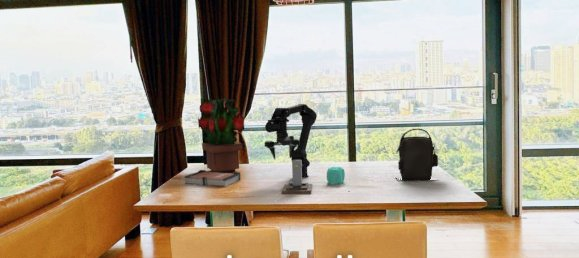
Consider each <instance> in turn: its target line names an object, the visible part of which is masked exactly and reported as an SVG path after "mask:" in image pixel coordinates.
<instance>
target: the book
mask: <svg viewBox="0 0 579 258" xmlns="http://www.w3.org/2000/svg"><path fill="white" fill-rule="evenodd" d="M184 178H185V183H184V185H194V184H196V185H197V186H210V187H211V186H212V187H221V188H222V187H225V188H227V187H228V186H231V185H233V184H235V183H238V182H239V181H241V180H242V179H241V172H240V171H235V172H228V173H217V172H213V171H207V170H206V169H200V170H198V171H196V172H194V173H191V174H188V175H186V176H184Z"/></svg>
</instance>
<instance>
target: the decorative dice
mask: <svg viewBox="0 0 579 258" xmlns="http://www.w3.org/2000/svg"><path fill="white" fill-rule="evenodd" d="M345 176H346V173H345V169H344V168H343V167H341V166H331V167H328V168H327V170H326V180H327V182H328V184H331V185H342V184H343V183H344V181H345V178H346V177H345Z"/></svg>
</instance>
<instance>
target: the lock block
mask: <svg viewBox="0 0 579 258" xmlns="http://www.w3.org/2000/svg"><path fill="white" fill-rule="evenodd" d="M291 166H292V167H291V170H292V183H293V188H298V187H302V183H303V177H302V160H291Z"/></svg>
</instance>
